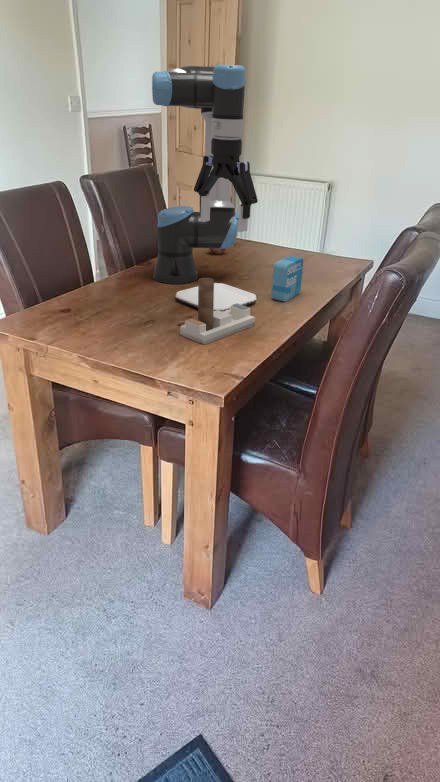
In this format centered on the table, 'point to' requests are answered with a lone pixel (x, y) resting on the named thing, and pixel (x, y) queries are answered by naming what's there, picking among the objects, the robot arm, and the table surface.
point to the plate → (218, 296)
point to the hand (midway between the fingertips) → (223, 226)
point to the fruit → (217, 250)
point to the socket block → (219, 324)
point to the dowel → (206, 301)
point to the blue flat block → (287, 278)
